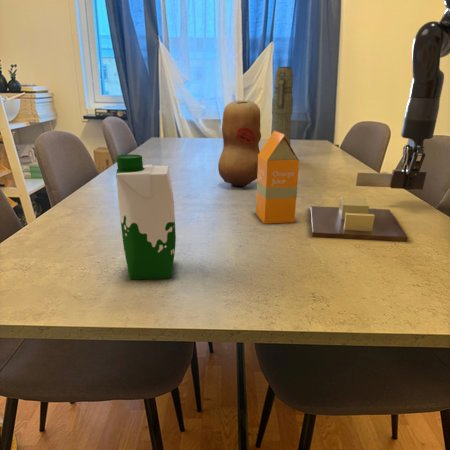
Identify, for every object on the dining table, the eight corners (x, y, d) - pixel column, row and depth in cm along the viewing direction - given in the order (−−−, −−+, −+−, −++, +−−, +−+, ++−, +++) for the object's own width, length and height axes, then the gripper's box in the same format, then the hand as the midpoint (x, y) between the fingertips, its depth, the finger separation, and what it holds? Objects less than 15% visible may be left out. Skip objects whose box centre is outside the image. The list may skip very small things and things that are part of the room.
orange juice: (284, 212, 112) (289, 130, 103) (295, 222, 104) (301, 134, 95) (255, 213, 111) (258, 130, 102) (263, 223, 103) (267, 135, 94)
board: (388, 213, 112) (389, 209, 111) (406, 241, 92) (407, 237, 92) (310, 209, 114) (310, 206, 114) (312, 236, 95) (312, 232, 95)
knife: (420, 187, 115) (424, 170, 113) (422, 189, 113) (426, 172, 111) (355, 184, 117) (357, 168, 115) (356, 186, 115) (358, 169, 113)
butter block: (362, 211, 109) (364, 197, 108) (367, 220, 102) (369, 206, 101) (338, 210, 110) (340, 196, 109) (341, 219, 103) (343, 204, 102)
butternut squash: (223, 191, 132) (223, 102, 121) (215, 182, 144) (214, 99, 132) (266, 189, 135) (270, 101, 123) (255, 180, 146) (257, 99, 135)
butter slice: (371, 229, 96) (373, 214, 95) (372, 231, 95) (374, 216, 94) (343, 228, 97) (345, 212, 96) (344, 230, 96) (346, 214, 94)
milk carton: (129, 262, 82) (118, 152, 72) (177, 261, 82) (172, 151, 73) (124, 282, 74) (109, 161, 65) (177, 280, 74) (170, 160, 65)
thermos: (268, 157, 188) (272, 66, 172) (270, 153, 198) (274, 67, 182) (289, 158, 186) (295, 66, 170) (290, 154, 197) (295, 67, 181)
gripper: (444, 120, 100) (427, 195, 108) (429, 115, 112) (415, 182, 120) (410, 119, 101) (396, 193, 109) (399, 115, 113) (387, 181, 121)
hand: (406, 187), depth 115 cm, fingers closed on knife, 2 cm apart
